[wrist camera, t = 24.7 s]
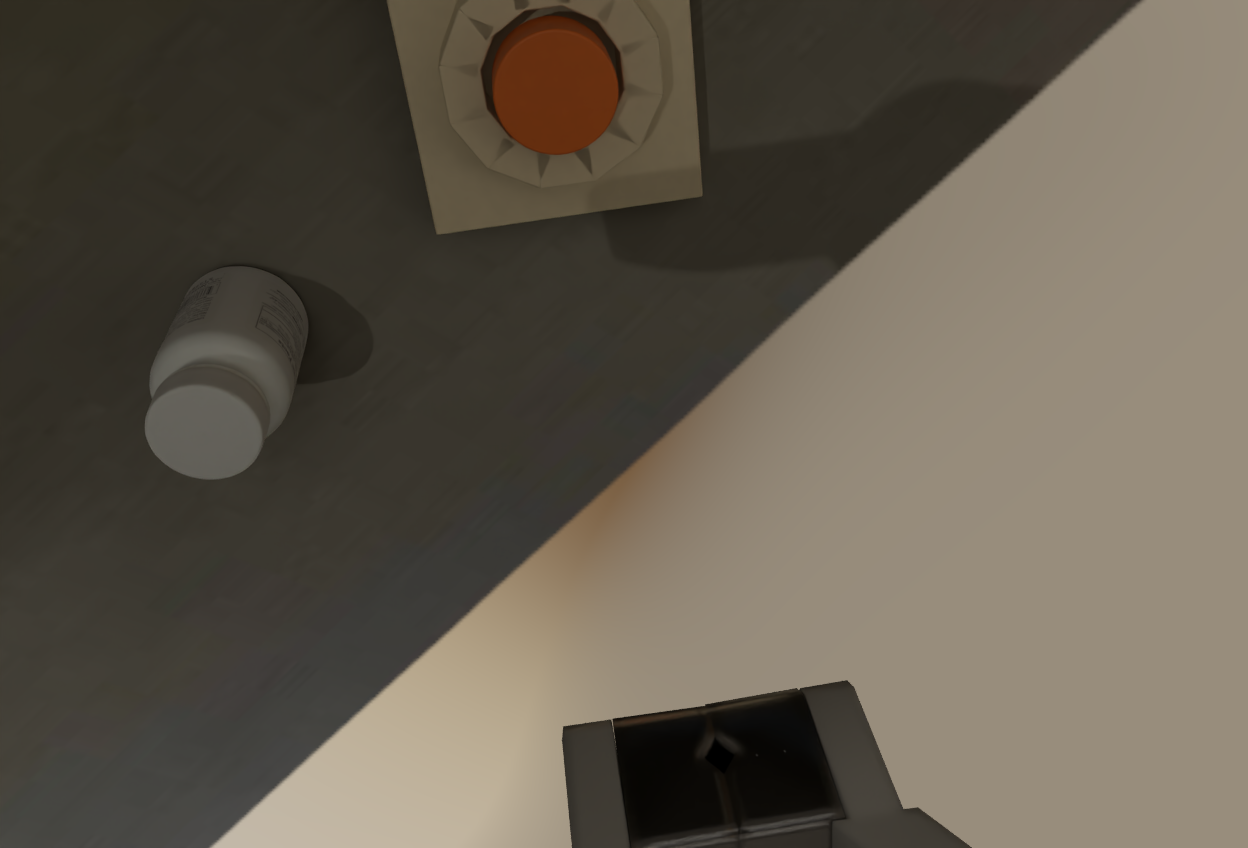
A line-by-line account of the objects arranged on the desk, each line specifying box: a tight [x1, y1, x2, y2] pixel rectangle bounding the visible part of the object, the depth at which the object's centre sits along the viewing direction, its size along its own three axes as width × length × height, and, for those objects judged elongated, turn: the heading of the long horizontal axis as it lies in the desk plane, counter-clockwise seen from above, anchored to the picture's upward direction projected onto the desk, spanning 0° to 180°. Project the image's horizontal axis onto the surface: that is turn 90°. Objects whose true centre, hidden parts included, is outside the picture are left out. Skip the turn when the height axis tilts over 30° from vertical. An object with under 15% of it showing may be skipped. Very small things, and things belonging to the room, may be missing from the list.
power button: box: [492, 15, 619, 155], centre depth 32 cm, size 4×4×2 cm
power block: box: [387, 0, 703, 235], centre depth 34 cm, size 10×9×4 cm
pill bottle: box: [145, 266, 308, 480], centre depth 36 cm, size 4×4×8 cm
